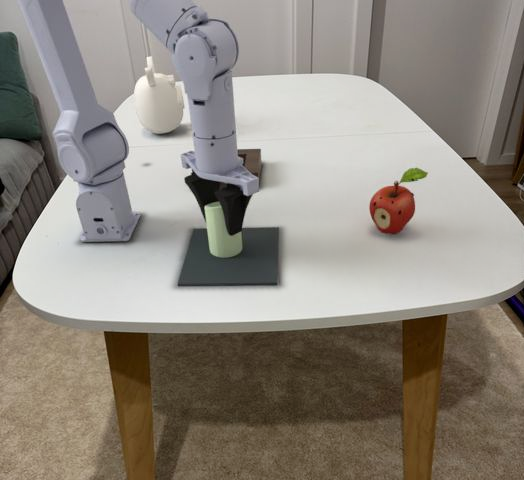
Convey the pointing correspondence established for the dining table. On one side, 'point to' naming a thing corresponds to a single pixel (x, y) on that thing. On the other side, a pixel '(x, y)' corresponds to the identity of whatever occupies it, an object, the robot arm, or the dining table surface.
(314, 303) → the dining table surface
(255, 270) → the mat
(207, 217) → the candle
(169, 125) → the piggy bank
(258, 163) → the holder
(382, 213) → the apple
